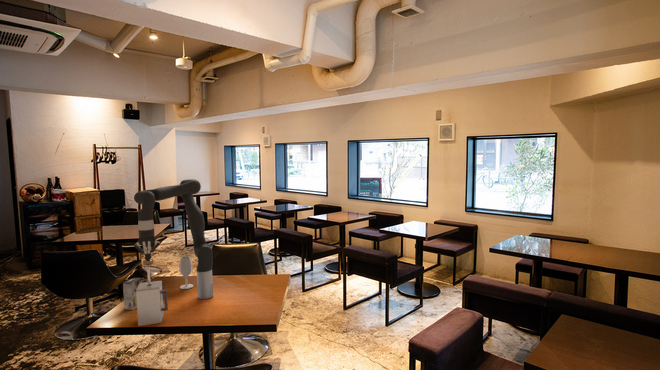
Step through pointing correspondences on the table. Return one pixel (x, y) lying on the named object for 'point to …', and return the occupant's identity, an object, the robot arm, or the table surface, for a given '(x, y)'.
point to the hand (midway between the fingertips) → (148, 260)
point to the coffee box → (131, 292)
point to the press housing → (150, 303)
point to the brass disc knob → (148, 268)
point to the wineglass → (185, 270)
